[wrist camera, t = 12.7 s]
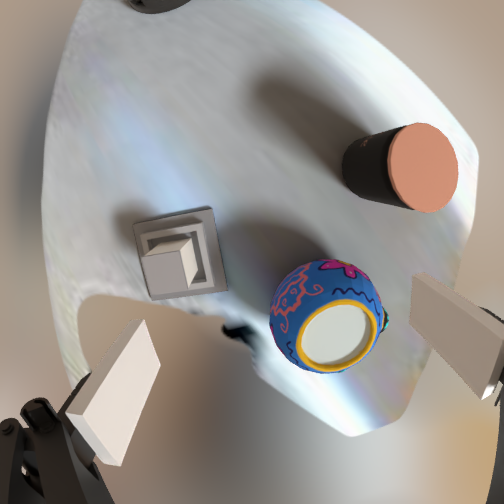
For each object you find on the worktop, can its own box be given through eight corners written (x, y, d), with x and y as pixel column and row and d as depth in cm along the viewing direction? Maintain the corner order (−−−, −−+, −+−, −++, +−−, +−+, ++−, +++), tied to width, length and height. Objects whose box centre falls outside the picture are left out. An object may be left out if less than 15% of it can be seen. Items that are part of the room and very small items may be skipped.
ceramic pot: (318, 352, 53) (338, 403, 38) (245, 305, 50) (245, 354, 35) (378, 284, 50) (418, 320, 35) (308, 227, 47) (335, 248, 32)
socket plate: (134, 223, 46) (128, 226, 43) (212, 208, 46) (210, 210, 43) (153, 299, 49) (148, 304, 47) (227, 288, 49) (226, 294, 47)
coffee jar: (395, 144, 43) (459, 134, 26) (392, 202, 46) (455, 217, 28) (340, 134, 43) (390, 112, 25) (337, 196, 45) (386, 208, 28)
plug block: (159, 242, 46) (141, 257, 37) (191, 237, 46) (179, 251, 37) (167, 274, 47) (151, 294, 39) (198, 269, 47) (187, 290, 39)
